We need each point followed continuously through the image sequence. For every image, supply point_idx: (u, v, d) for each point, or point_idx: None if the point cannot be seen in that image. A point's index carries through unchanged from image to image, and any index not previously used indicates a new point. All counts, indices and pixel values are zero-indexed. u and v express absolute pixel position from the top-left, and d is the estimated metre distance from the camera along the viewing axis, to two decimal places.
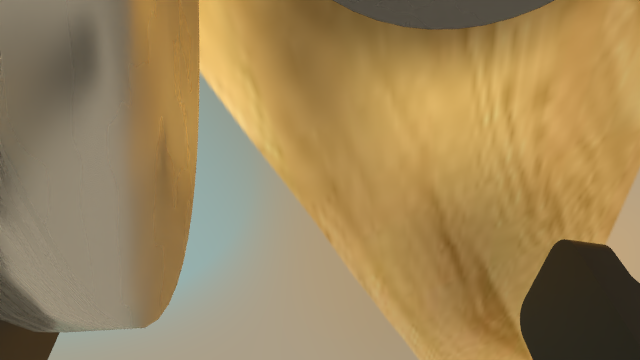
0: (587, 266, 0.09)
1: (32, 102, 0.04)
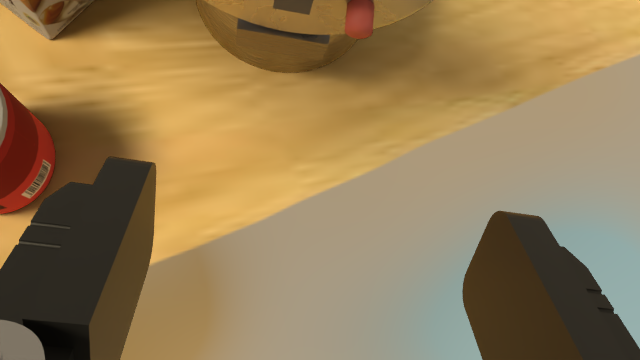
0: (516, 234, 0.09)
1: None
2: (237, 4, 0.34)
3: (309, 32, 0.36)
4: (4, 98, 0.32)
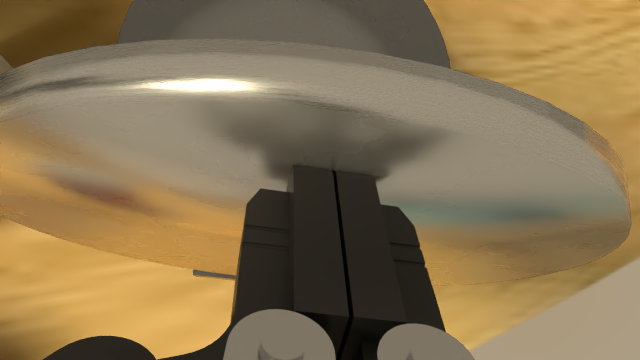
0: (338, 191, 0.09)
1: None
2: (188, 262, 0.20)
3: None
4: None
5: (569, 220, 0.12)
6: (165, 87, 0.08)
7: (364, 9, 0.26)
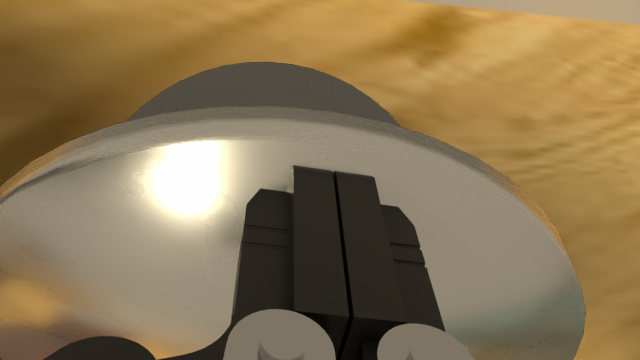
0: (338, 191, 0.09)
1: None
2: None
3: None
4: None
5: (527, 292, 0.13)
6: (171, 139, 0.10)
7: None
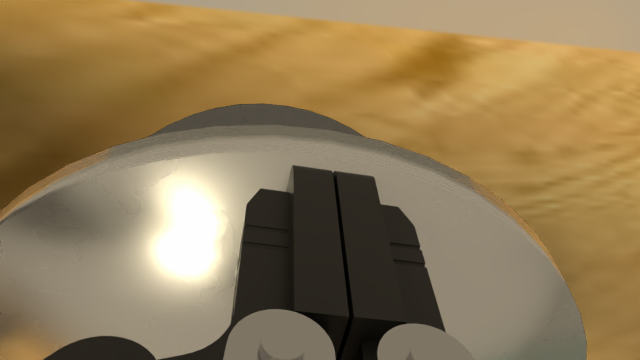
0: (338, 191, 0.09)
1: None
2: None
3: None
4: None
5: (526, 318, 0.13)
6: (171, 153, 0.10)
7: None
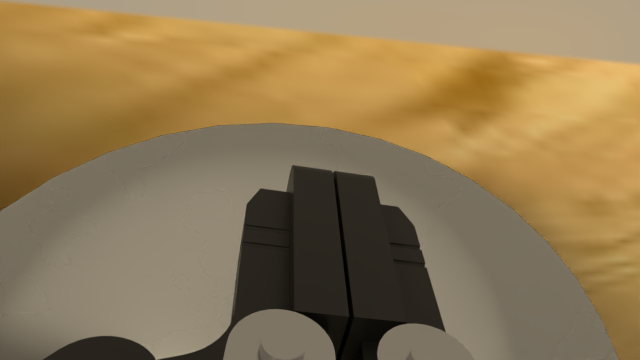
0: (338, 191, 0.09)
1: None
2: None
3: None
4: None
5: (549, 330, 0.12)
6: None
7: None
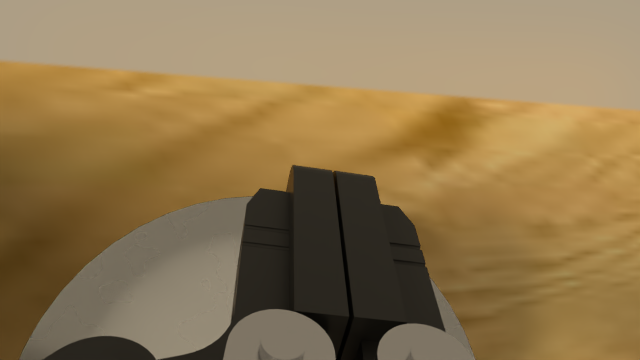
0: (338, 191, 0.09)
1: None
2: None
3: None
4: None
5: None
6: None
7: None
